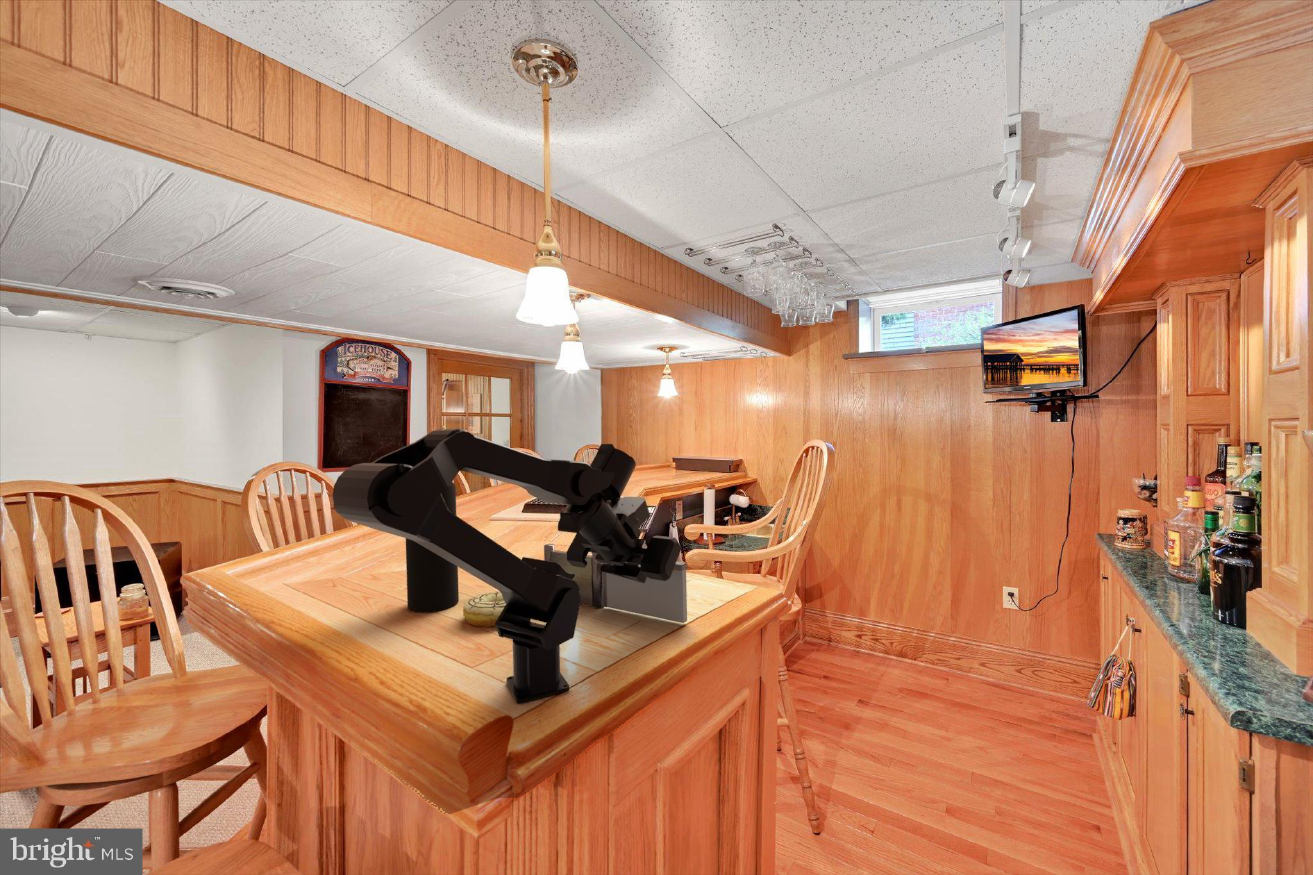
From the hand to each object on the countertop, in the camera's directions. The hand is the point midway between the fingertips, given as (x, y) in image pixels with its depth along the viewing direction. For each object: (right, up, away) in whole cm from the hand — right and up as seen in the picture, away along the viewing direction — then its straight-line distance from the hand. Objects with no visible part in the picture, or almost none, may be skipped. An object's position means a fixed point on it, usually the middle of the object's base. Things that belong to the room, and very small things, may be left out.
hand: (643, 580), depth 85 cm
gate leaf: (0, -7, +4) cm, 8 cm away
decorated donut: (-26, -8, +5) cm, 27 cm away
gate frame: (-13, -7, +12) cm, 20 cm away
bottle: (-40, -8, +12) cm, 42 cm away
